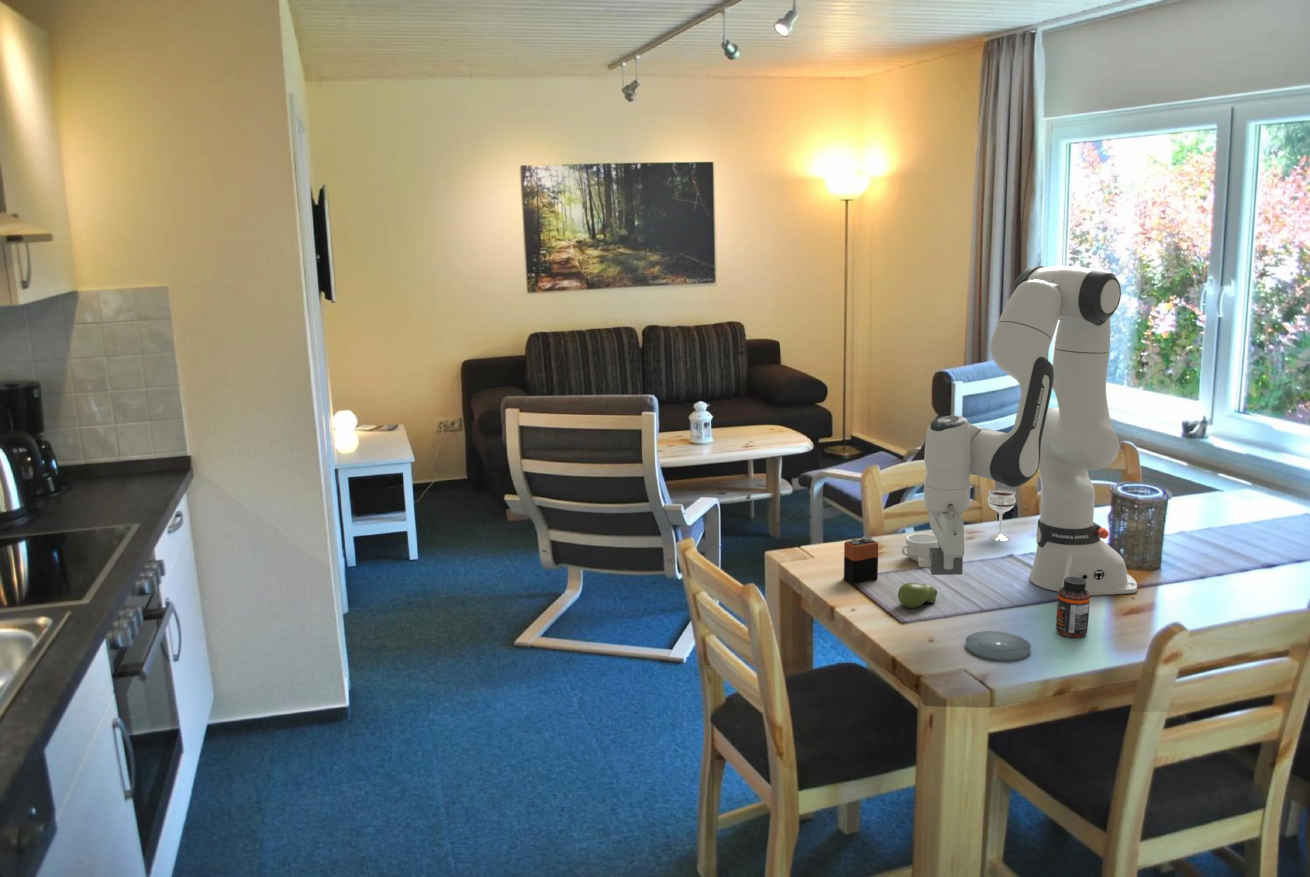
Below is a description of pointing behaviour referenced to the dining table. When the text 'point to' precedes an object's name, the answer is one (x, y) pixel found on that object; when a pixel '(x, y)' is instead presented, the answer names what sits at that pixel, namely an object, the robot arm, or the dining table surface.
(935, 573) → the block
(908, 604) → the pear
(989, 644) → the plate
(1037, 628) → the dining table surface
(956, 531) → the robot arm
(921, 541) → the teacup
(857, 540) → the battery
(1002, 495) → the wineglass
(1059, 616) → the supplement bottle
